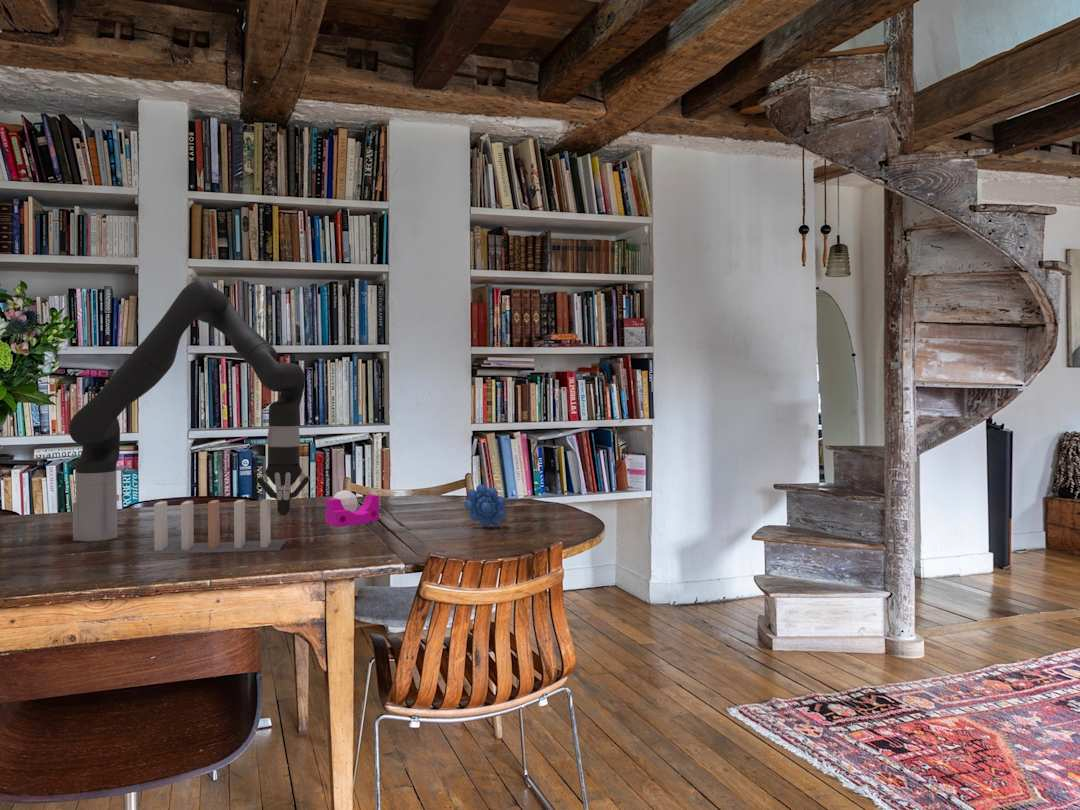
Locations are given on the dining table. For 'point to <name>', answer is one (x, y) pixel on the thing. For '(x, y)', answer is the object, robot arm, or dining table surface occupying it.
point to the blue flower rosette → (485, 506)
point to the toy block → (345, 517)
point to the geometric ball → (347, 500)
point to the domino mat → (222, 548)
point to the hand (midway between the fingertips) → (283, 514)
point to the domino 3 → (213, 524)
